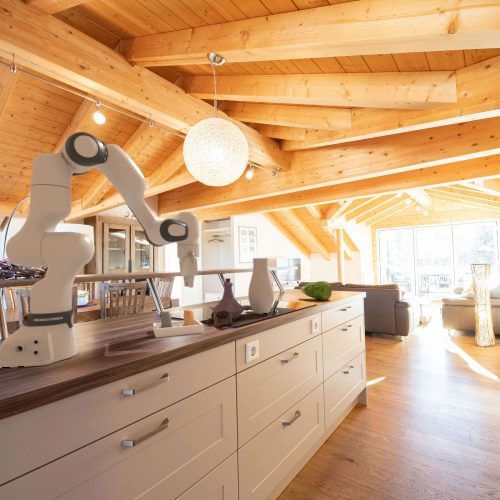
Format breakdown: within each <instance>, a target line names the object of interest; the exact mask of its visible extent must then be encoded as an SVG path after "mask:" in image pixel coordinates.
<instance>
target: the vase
mask: <svg viewBox="0 0 500 500" xmlns="http://www.w3.org/2000/svg"><path fill="white" fill-rule="evenodd" d="M268 261H269V258H268V257H256V258H255V257H254V258H252V263H253V264H252V266H253V267H252V272H251V273H252V274H251V279H250V282H249V285H248V286H249V287H248V295H247V297H248V302H249V305H250V308H251V310H252V311H253V313H254V314H256V315H264V314H263V313H267V314H268V313H270V311H271V309H272V306H273V303H274V300H275V299H274V298H275V294H274V293H275V291H274V287H273V282H272V280H271V276H270V272H269V271H270V270H269V266H268V265H269V262H268Z"/></svg>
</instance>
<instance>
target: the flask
mask: <svg viewBox="0 0 500 500" xmlns="http://www.w3.org/2000/svg"><path fill="white" fill-rule="evenodd" d="M222 285H223V287H224V288H223V289H224V290H223V294H222V298H221V299H220V300H219V302H218V303H217V304H216V305H215V307H213V309H212V313H213V312H217V311H219V310H227V311H229V312H230V313H231V315H232V316H233V317H231V319H233V320H237V319H239V318H240V316H241V315H242V313H244V311H245V310H246V309H245V308H244V307H243V306H242V305H241V304H240V303H239V302H238V301H237V299H236V298H235V296H234V292H233V285H234V283H233V282H231V278H230V277H229V278H228V277H227V278H226V277H225V282H224V283H223V284H222ZM219 315H221V314H219ZM236 318H237V319H236Z"/></svg>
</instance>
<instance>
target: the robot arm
mask: <svg viewBox="0 0 500 500" xmlns="http://www.w3.org/2000/svg"><path fill="white" fill-rule="evenodd" d="M32 162H33V163H32V167H31V174H30V195H29V196H30V197H29V211H28V215H27V218H26V220H25V221H24V224H23V225H22V227H21V228H20V230H19V231H17V232H16V233H15V234H14V235H13V236H11V237H10V238H9V239H8V241H7V243H6V245H5V255H6V257H7V259H8V260H9V262H10V263H12V264H13V265H16V266H22V267H28V268H47V272H46V274H45V275H44V277H43V278H42V279H40V280H38V281H37V282H35V283H33V284H32V286H31V288H30V291H29V292H30V293H29V294H30V295H29V296H30V303H29V304H30V307H29V310H30V312H26V313H25V314H24V315H22V317H21V322H22V326H20V327H19V328H18V329H17V330H15V331H14V332H13V333H12V334H10V335H9V336H7V338H5V339H4V340H3V341H2V342H1V344H0V369H3V368H2V367H10V368H19V367H18V366H24V367H36V366H39V367H40V366H47V365H50V364H53V363H56V362H59V361H63V360H66V359H67V360H68V359H69V358H72V357H74V356H75V355H77V354H78V350H77V346H76V344H75V343H76V342H75V339H74V332H73V327H74V316H75V315H74V310H73V308H72V303H73V302H72V299H73V297H72V296H73V286H74V283H75V279H76V277H77V275H78V274H79V272H80V270H81V269H82V268H83V267H84V266H86V265H87V264H88V263H90V261H92V259H93V257H94V255H95V250H96V249H95V243H94V241H93V240H92V238H91V237H90V236H89V235H88V234H86V233H81V232H75V231H56V228H57V226H58V225H59V223H61V222H62V221H64V220H66V219H67V218H68V217H69V216H70V215H71V213H72V178H73V177H74V176H82V175H86V174H87V173H89V172H90V171H91V170H93V169H95V170H97V171H100V172H101V173H102V175H104V176H105V177H106V178H107V179H108V181H109V182H110V183H111V185H112V186H113V187H114V189H115V190H116V191H117V192H118V194H119V195H120V197H122V199H123V201H124V202H125V205H127V208H129V210H130V211H131V213H132V214H133V215H134V218H135V219H136V220H137V221H138V224H139V225H140V226H141V228H142V230H143V233H144V236H145V239H146V241H147V242H148V243H149V245H151V246H152V247H155V248H156V247H159V248H160V247H163V246H166V245H171V244H174V243H175V244H176V245H177V246H176V250H177V251H176V253H177V254H176V255H177V258H178V262H179V263H178V264H179V273H180V275H181V276H182V277H183V283H184V285H183V286H184V287H188V288H189V289H190V288H191V289H192V288H193V287H194V282H195V277H196V276H198V272H199V271H198V258H199V257H200V242H199V236H200V223H199V219H198V216H197V215H196V214H194V213H192V212H189V211H187V212H186V211H182V212H179V213H178V214H175V216H172V217H169V218H164V219H161V220H158V219H157V218H156V216H155V215H154V214H153V212H152V210H151V209H150V208H149V206H148V205H147V203H146V201H145V191H146V189H147V188H146V187H147V179H146V178H145V176H144V174H143V172H142V171H141V169H140V168H139V166H138V165H137V164H136V163H135V162H134V160H133V159H132V158H131V156H129V154H128V153H127V152H126V151H125V150H124V149H123V148H121V146H120V145H118V144H115V143H108V144H106V143H105V142H103V141H102V140H100V139H98V138H97V137H96V136H94V135H93V134H92V133H89V132H85V131H80V132H79V131H77V132H74V133H72V134H71V135H69V136H68V138H67V139H66V140H65V141H64V143H63V144H62V145H61V147H60V149H59V151H58V152H57V153H53V152H44V153H43V152H42V153H39V154H37V155H36V156H35V158H34V160H33V161H32Z"/></svg>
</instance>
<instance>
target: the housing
mask: <svg viewBox="0 0 500 500" xmlns="http://www.w3.org/2000/svg"><path fill="white" fill-rule="evenodd" d="M204 326H205V325H204V323H202V322H201V321H200V320H198V319H194V325H191V326H184V320H176V321H174V320H173V321H172V320H171V327H168V328H161V321H160V322H153V323H152V331H153V334H154V336H155V338H164V337H174V336H175V337H176V336H185V335H186V336H187V335H194V334H204V332H205V327H204Z"/></svg>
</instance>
